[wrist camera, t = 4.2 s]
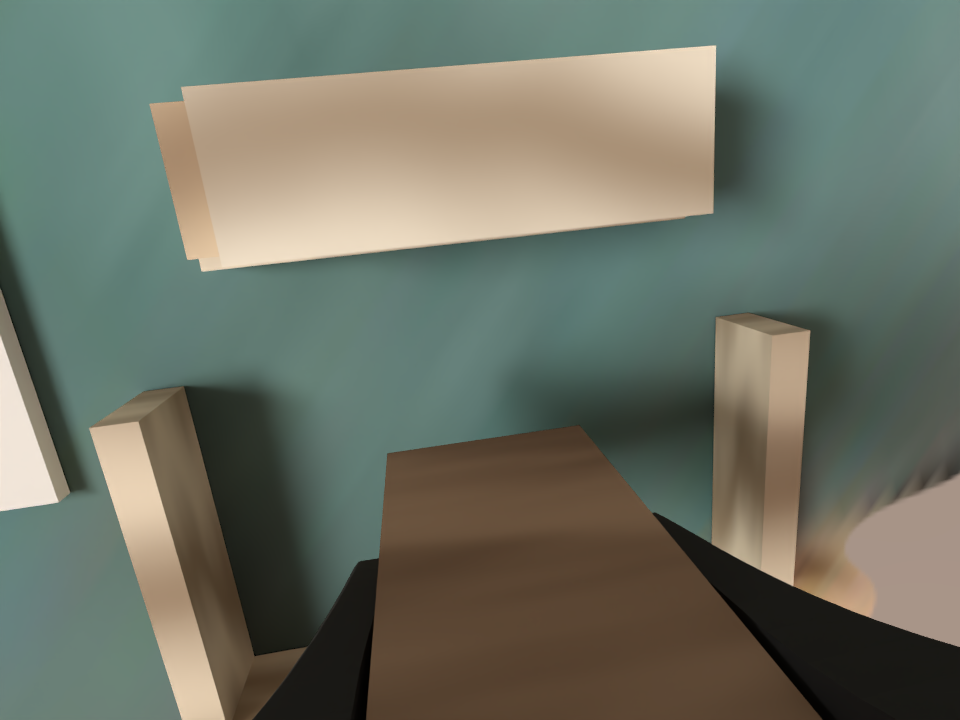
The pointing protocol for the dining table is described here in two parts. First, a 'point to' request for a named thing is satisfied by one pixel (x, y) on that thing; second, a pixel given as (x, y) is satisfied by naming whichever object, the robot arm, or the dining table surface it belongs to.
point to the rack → (253, 679)
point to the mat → (23, 432)
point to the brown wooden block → (549, 597)
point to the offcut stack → (438, 155)
